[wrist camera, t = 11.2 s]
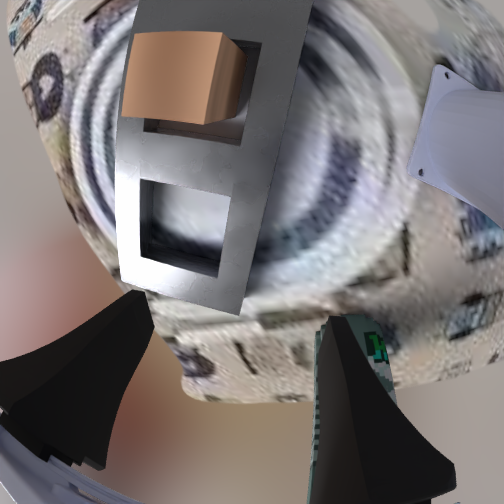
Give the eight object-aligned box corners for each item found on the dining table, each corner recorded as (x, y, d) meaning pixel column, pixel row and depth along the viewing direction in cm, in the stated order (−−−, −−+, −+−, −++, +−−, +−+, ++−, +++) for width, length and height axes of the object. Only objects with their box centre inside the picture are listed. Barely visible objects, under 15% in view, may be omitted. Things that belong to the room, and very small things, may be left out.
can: (372, 357, 24) (385, 501, 11) (312, 359, 25) (304, 508, 12) (386, 313, 21) (419, 487, 8) (317, 315, 22) (312, 502, 9)
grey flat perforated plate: (329, -72, 6) (332, -86, 4) (243, 298, 22) (239, 315, 20) (187, -78, 6) (177, -89, 4) (132, 267, 22) (121, 280, 20)
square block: (248, 56, 13) (222, 32, 8) (235, 117, 15) (203, 124, 10) (185, 51, 13) (134, 33, 8) (174, 108, 15) (121, 116, 10)
